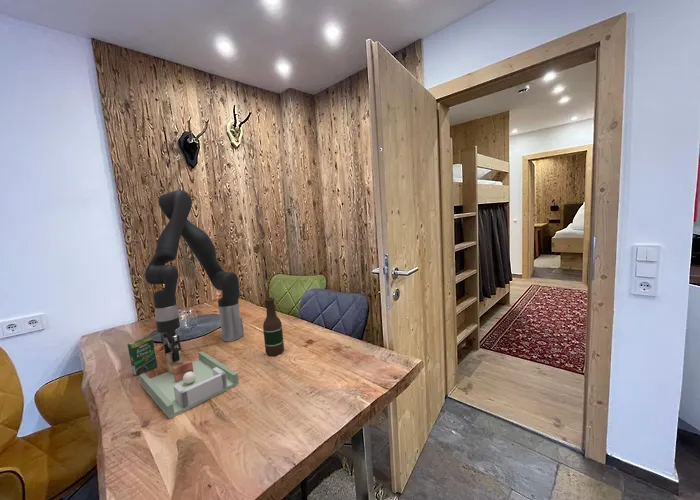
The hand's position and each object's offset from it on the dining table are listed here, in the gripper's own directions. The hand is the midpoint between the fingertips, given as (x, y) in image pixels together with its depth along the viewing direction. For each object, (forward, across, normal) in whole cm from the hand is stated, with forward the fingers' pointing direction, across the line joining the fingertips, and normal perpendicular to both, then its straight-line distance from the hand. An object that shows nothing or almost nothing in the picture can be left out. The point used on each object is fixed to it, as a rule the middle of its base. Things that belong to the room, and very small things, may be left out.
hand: (172, 358), depth 112 cm
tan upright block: (+5, -4, -1) cm, 7 cm away
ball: (+3, -14, -1) cm, 15 cm away
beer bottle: (+6, -18, -34) cm, 39 cm away
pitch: (+6, -13, -1) cm, 15 cm away
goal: (+6, -25, -1) cm, 26 cm away
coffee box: (+7, +13, +7) cm, 16 cm away
